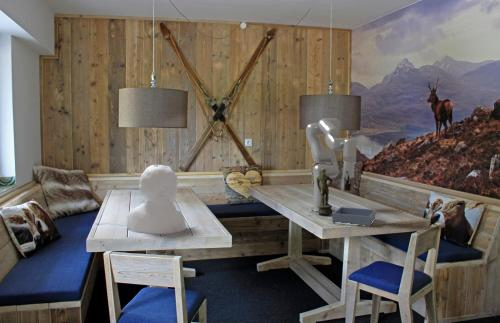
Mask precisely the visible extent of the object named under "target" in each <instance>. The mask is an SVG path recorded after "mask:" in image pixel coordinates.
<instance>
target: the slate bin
mask: <svg viewBox="0 0 500 323" xmlns="http://www.w3.org/2000/svg"><path fill="white" fill-rule="evenodd" d="M376 211H377V210H376V209H369V208H368V209H367V208H357V207H356V208H355V207H344V206H340V207H339V208H338V209H336V210H335V211H334V212H332V220H331V221H332V222H341V223H350V224H359V225H365V226H366V227H367V228H370V227H371V226H372V225H371V223H372V221H373V220H374V219H375V220H376ZM332 222H331V223H332ZM372 224H373V223H372ZM370 225H371V226H370Z"/></svg>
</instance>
